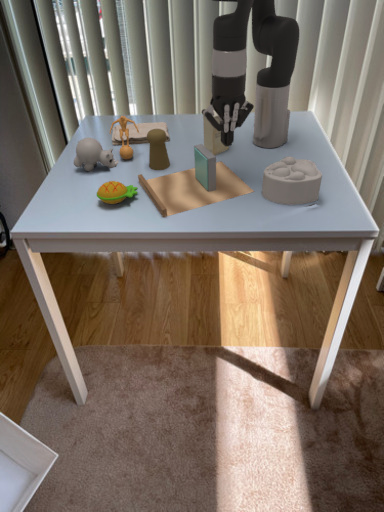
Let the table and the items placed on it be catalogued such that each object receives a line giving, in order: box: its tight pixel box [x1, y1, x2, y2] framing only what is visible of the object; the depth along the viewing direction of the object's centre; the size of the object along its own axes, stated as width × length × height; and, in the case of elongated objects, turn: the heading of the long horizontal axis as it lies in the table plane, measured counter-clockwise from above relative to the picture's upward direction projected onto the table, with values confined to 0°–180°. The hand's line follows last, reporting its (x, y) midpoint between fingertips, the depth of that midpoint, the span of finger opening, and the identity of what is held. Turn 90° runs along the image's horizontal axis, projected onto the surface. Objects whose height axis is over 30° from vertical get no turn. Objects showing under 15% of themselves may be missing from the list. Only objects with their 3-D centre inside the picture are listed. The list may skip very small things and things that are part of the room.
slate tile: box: [193, 143, 217, 192], centre depth 102 cm, size 2×8×9 cm, turn 24°
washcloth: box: [111, 121, 170, 146], centre depth 131 cm, size 12×18×3 cm, turn 97°
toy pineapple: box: [96, 180, 139, 205], centre depth 101 cm, size 7×10×5 cm
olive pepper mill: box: [147, 129, 171, 171], centre depth 111 cm, size 6×6×11 cm
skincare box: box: [202, 110, 230, 156], centre depth 116 cm, size 6×4×12 cm
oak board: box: [137, 160, 255, 218], centre depth 104 cm, size 24×18×3 cm
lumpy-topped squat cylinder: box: [261, 156, 323, 208], centre depth 98 cm, size 10×13×9 cm
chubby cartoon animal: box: [73, 137, 119, 172], centre depth 114 cm, size 7×12×8 cm, turn 79°
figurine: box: [109, 115, 139, 160], centre depth 117 cm, size 8×6×12 cm
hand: (226, 144), depth 101 cm, fingers closed
